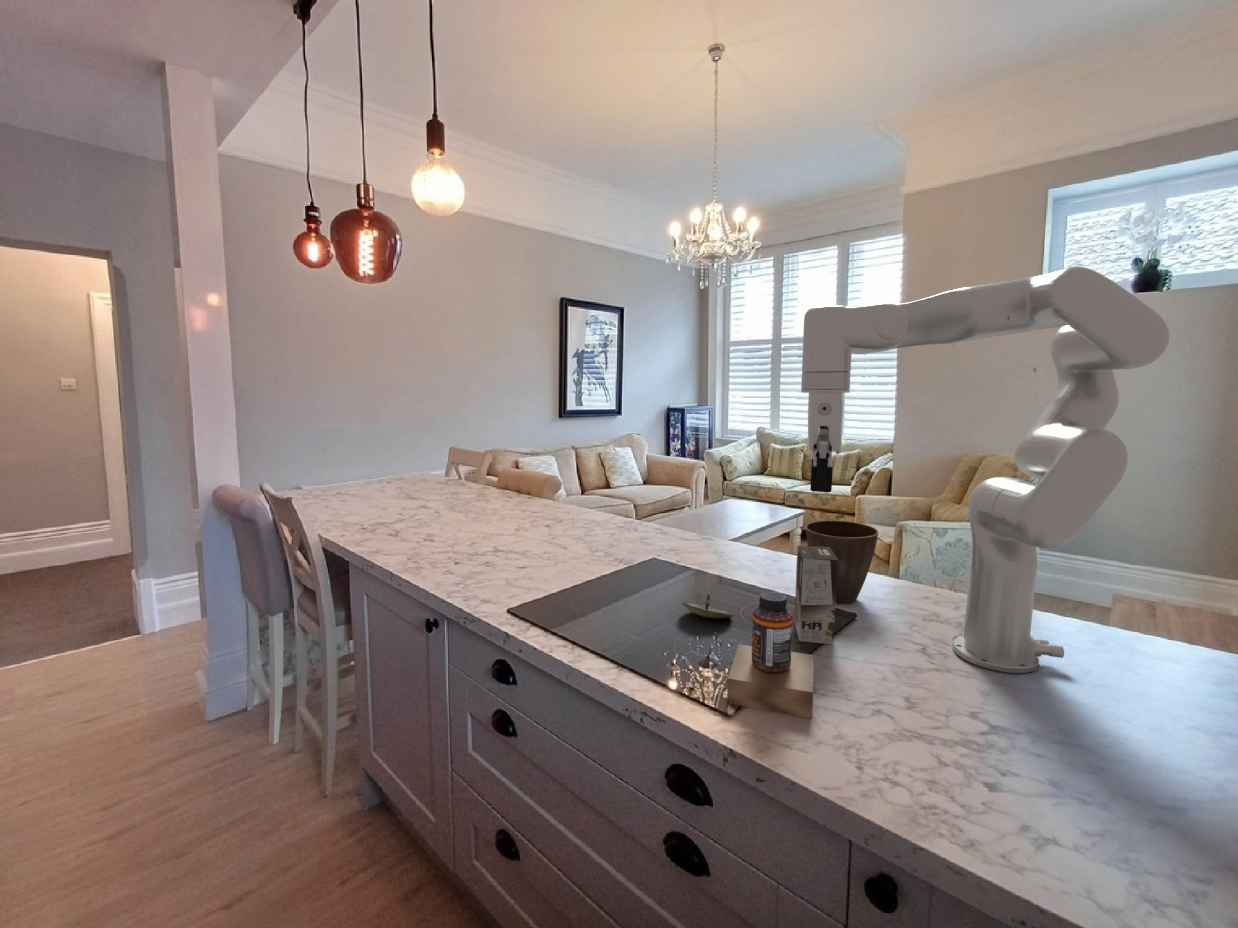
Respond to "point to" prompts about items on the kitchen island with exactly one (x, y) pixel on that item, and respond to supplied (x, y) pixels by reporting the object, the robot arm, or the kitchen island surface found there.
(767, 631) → the supplement bottle
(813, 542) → the plant pot
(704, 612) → the lid
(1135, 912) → the kitchen island surface
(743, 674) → the tan block
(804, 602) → the coffee box
